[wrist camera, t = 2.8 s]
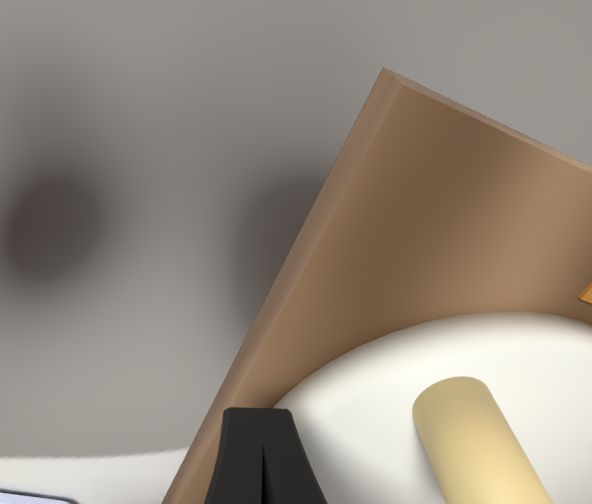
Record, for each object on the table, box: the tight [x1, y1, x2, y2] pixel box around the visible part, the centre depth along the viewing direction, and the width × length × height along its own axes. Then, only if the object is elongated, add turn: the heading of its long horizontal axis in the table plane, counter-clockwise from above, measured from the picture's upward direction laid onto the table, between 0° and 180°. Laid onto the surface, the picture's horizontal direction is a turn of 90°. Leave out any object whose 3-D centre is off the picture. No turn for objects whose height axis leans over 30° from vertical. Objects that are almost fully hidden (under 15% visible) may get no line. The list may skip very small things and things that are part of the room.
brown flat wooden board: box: [162, 67, 592, 504], centre depth 17 cm, size 16×21×2 cm
